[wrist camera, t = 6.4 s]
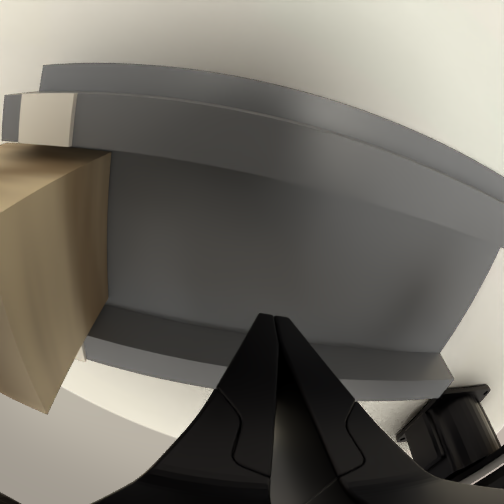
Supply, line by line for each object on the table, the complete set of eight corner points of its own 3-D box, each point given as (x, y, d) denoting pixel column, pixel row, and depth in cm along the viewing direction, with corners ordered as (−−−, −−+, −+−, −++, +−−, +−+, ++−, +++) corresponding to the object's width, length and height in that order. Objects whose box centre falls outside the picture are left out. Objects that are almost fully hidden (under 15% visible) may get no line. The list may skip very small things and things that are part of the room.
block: (111, 151, 9) (-14, 222, 4) (108, 298, 12) (47, 414, 7) (7, 142, 9) (-110, 196, 3) (18, 272, 11) (-56, 358, 6)
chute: (510, 182, 11) (554, 207, 8) (411, 371, 16) (429, 411, 13) (57, 65, 8) (4, 64, 6) (60, 315, 14) (33, 357, 11)
